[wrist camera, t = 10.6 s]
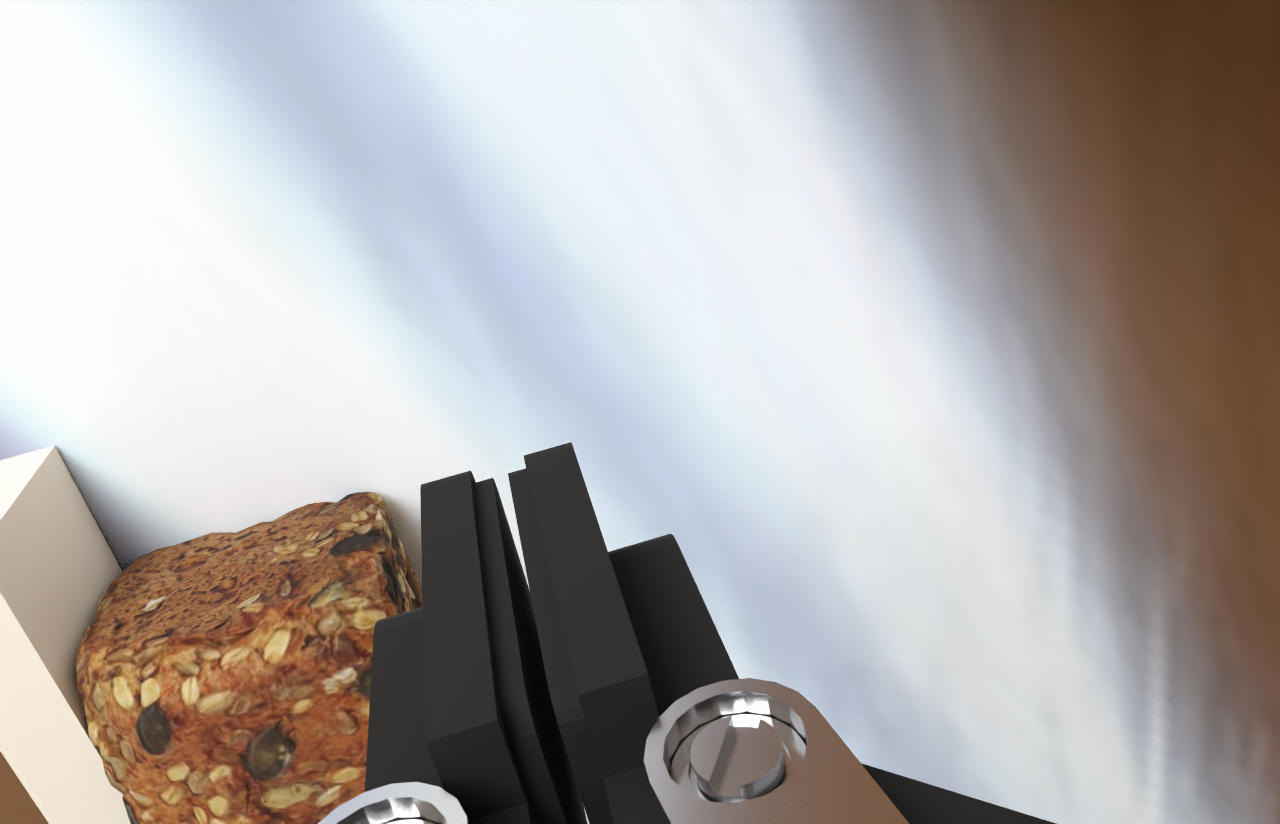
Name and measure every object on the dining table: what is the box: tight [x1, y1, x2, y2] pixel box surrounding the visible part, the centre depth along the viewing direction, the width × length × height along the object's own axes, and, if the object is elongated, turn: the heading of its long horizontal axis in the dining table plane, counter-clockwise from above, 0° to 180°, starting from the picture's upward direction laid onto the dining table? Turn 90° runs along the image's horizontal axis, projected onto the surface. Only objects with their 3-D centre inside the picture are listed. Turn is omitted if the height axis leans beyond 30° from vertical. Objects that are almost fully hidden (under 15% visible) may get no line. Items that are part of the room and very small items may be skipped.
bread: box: [76, 492, 423, 824], centre depth 37 cm, size 19×11×10 cm, turn 12°
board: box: [0, 446, 131, 824], centre depth 37 cm, size 2×28×7 cm, turn 12°
